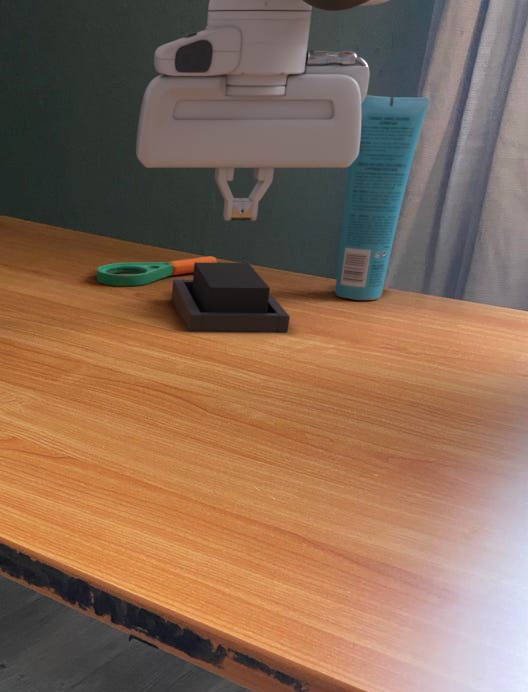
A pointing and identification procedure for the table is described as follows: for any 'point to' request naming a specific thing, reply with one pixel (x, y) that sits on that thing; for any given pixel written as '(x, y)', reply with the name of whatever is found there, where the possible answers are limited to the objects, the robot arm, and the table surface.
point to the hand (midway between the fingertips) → (239, 219)
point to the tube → (376, 192)
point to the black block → (229, 288)
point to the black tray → (227, 315)
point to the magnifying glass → (146, 271)
